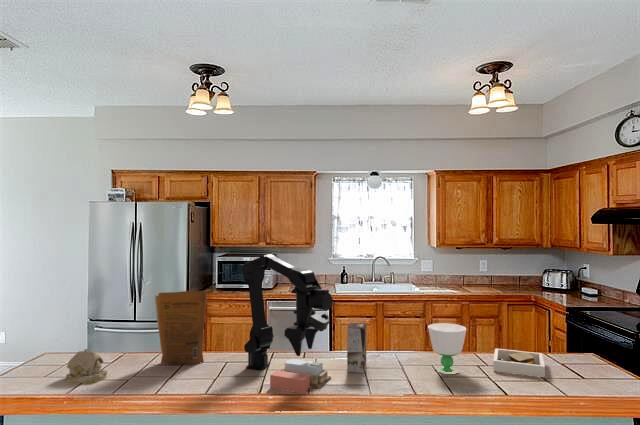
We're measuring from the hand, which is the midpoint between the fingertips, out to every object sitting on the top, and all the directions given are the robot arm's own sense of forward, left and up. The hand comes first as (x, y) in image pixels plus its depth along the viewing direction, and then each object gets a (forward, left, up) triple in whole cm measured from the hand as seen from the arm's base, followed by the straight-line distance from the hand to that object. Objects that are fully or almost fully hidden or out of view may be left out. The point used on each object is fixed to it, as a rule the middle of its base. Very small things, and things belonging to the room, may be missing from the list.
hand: (304, 352), depth 155 cm
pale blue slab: (0, 0, -9) cm, 9 cm away
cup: (+44, +30, -10) cm, 54 cm away
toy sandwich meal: (+67, +44, -10) cm, 81 cm away
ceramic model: (-71, -28, -10) cm, 77 cm away
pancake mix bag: (-51, -2, -10) cm, 52 cm away
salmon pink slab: (-1, -8, -10) cm, 13 cm away
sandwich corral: (+68, +44, -10) cm, 81 cm away
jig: (0, 0, -10) cm, 10 cm away
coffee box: (+13, +19, -10) cm, 25 cm away
